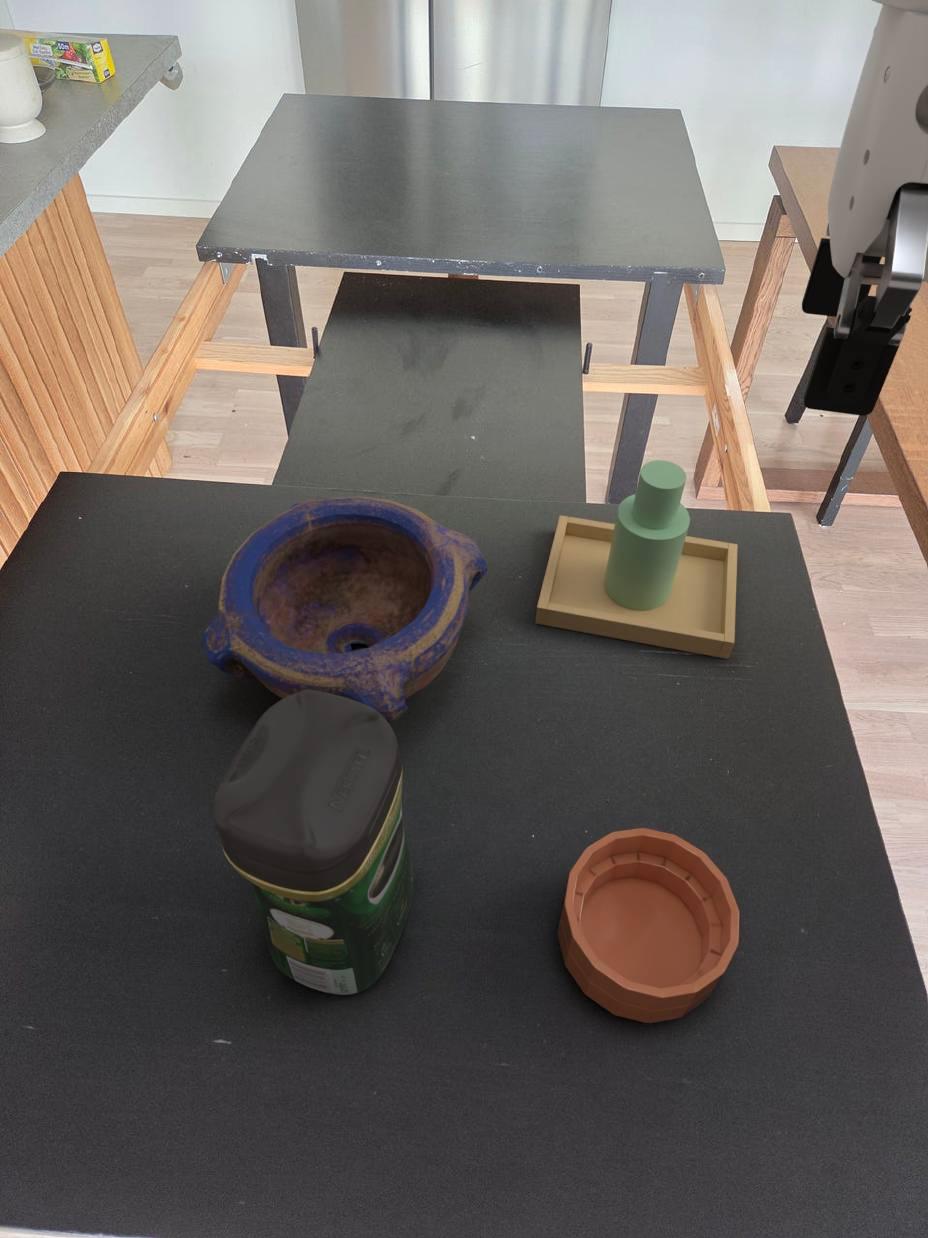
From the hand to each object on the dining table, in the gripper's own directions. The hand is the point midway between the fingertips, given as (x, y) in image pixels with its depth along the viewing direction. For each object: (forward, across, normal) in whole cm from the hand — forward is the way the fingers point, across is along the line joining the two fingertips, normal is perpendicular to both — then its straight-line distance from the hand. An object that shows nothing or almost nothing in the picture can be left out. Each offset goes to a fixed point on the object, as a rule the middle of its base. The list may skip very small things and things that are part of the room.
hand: (832, 357), depth 44 cm
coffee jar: (+28, -25, +22) cm, 43 cm away
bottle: (+27, +9, +7) cm, 30 cm away
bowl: (+28, -5, +28) cm, 40 cm away
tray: (+28, +9, +7) cm, 30 cm away
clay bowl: (+28, -21, +4) cm, 35 cm away
